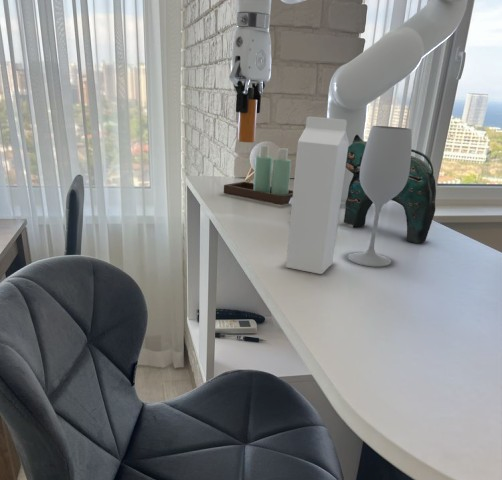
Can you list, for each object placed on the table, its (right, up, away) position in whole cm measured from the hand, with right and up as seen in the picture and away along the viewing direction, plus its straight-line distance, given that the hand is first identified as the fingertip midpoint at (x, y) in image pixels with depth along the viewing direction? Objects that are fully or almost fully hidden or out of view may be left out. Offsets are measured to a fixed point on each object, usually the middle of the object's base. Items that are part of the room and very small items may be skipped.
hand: (248, 111), depth 122 cm
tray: (+3, -19, +6) cm, 21 cm away
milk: (+10, -43, -40) cm, 60 cm away
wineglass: (+21, -41, -35) cm, 58 cm away
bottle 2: (+8, -20, +3) cm, 22 cm away
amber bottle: (0, -6, +3) cm, 7 cm away
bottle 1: (+3, -19, +6) cm, 20 cm away
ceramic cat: (+28, -33, -17) cm, 46 cm away
